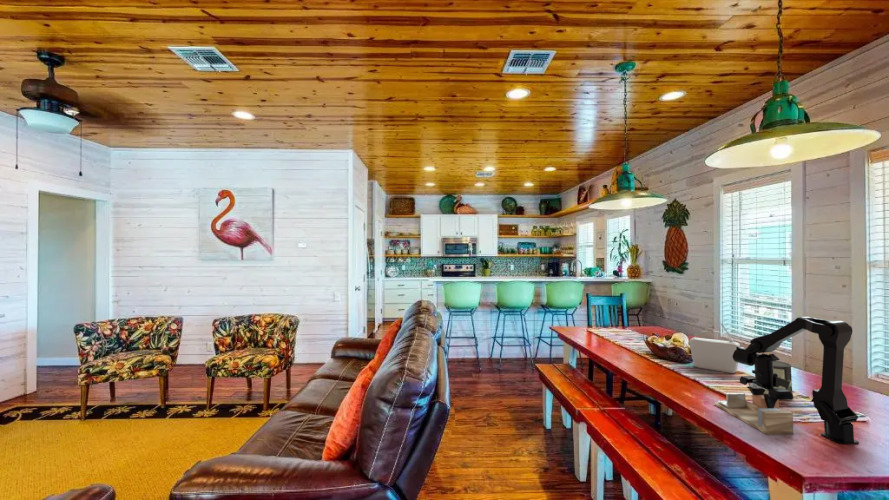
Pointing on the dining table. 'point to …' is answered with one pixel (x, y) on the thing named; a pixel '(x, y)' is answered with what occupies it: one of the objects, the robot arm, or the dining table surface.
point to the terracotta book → (762, 401)
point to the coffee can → (782, 373)
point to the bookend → (734, 400)
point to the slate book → (761, 414)
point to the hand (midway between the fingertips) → (765, 408)
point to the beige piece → (763, 418)
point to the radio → (714, 353)
